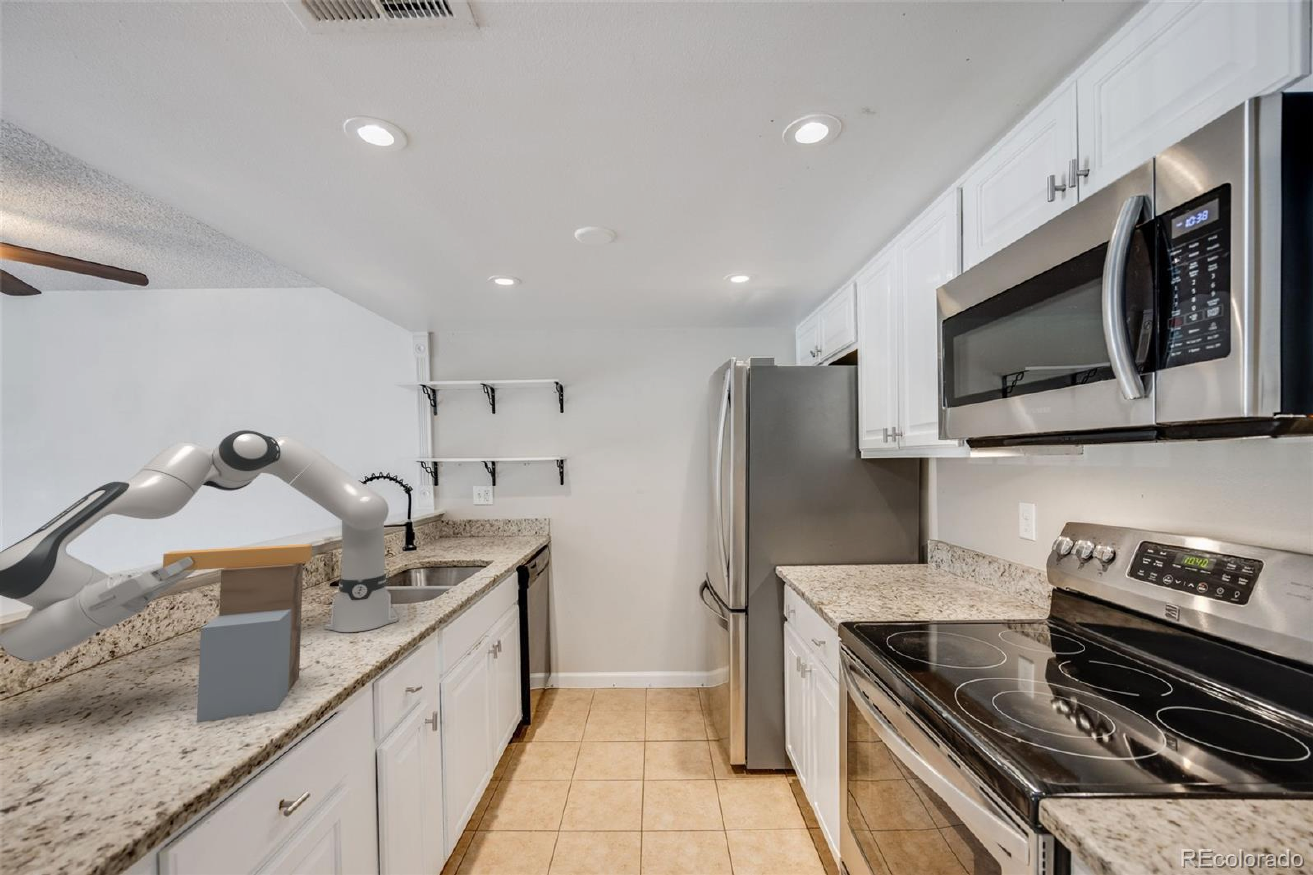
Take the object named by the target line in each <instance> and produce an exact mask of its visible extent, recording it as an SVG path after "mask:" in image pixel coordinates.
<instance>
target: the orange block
mask: <svg viewBox="0 0 1313 875" xmlns="http://www.w3.org/2000/svg"><path fill="white" fill-rule="evenodd" d="M312 546H313V544H312V543H306V544H286V545H267V546H250V547H249V546H248V547H232V548H231V547H230V548H211V549H192V550H191V549H190V550H189V549H188V550H173V551H169V552H165V553H163V554H162V556H163V558H162V559H163V560H162V565H163V567H166V566H168V565H171V564H173V563H176V562H178V561H180V560H182V559H184V558H186V557H189V556H191V557H193V559H194V560H195V564H193V565H191V566H189V567H187V568H185V569H183V570H182V571H187V570H196V571H199V570H203V571H204V570H216V569H217V570H218V569H225V568H234V567H250V566H265V565H281V564H296V563H303V564H308V563H309V562H310V561H312V552H313V551H312V550H313V549H312V548H313V547H312Z"/></svg>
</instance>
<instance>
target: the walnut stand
mask: <svg viewBox="0 0 1313 875" xmlns="http://www.w3.org/2000/svg"><path fill="white" fill-rule="evenodd" d="M303 572H304V563H296V564H281V565H265V566H250V567H234V568H222V569H221V571H220V588H219V589H220V590H219V591H220V592H219V613H218V616H224V615H235V614H246V613H257V612H267V611H278V610H289V609H291V633H290V662H289V691H288V693H290V691H291V690H292V688H293V687H294V685H295V684H296V683H297V681H298V680H299V679H300V667H301V666H300V663H301V639H302V638H301V636H302V635H301V634H302V633H301V632H302V604H303V601H302V600H303V575H304V574H303Z"/></svg>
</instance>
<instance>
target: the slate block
mask: <svg viewBox="0 0 1313 875" xmlns="http://www.w3.org/2000/svg"><path fill="white" fill-rule="evenodd" d="M290 633H291V609H289V610H278V611H267V612H257V613H246V614H235V615H224V616H219V615H218V616H216V618H213V619H212V620H211V621H209V622H208V623H207V624H205V625H203V626H202V627H200V639H199V660H198V662H199V663H198V684H197V685H198V686H197V687H198V688H197V703H196V704H197V707H196V710H197V711H196V723H202V722H208V721H215V720H221V719H227V718H233V717H240V716H246V715H252V714H260V713H261V714H262V713H266V712H273V711H277V709H278V708H279V707H280V706H281V704H282V703H283V701H284V700H285V698H286V697H287V695H288V694H289V692H290V691H289V662H290ZM288 691H289V692H288Z"/></svg>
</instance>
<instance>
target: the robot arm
mask: <svg viewBox="0 0 1313 875" xmlns="http://www.w3.org/2000/svg"><path fill="white" fill-rule="evenodd" d="M261 474H268V475H269V474H270V475H271V476H272V475H273V476H275V477H277V478H279V479H280V480H282V481H283V482H284V483H286V484H287V485H289V486H290V487H291V488H293V489H294V490H296V491H298V492H299V493H301V494H302V495H304V496H306V497H307V498H309V499H310V500H312V501H313V502H315V503H316V504H317V505H319V506H320V507H321V508H323V509H325V510H326V511H328V512H329V513H330V514H332V515H333V516H334V517H336V518H338V519H339V520H341V572H340V574H341V577H340V578H339V582H338V592H339V593H338V594H337V595H336V596H335V597H333V599H332V604H331V605H332V606H331V617H330V621H328V622H327V623H325V624H324V626H323V629H324V630H329V631H330V630H331V631H335V632H339V633H354V632H363V631H364V632H365V631H368V630H375V629H377V628H378V629H379V628H381V627H384V626H386V625H388V624H392V623H396V622H398V621H399V618H398V615H397V613H396V610H395V609H394V607H393V604H392V603H391V600H392V599H391V596H392V595H391V593H390V592H389V591H388V590H387V588H386V586H387V574H386V573H385V570H386V569H385V567H386V562H385V561H386V543H385V522H386V521H387V518H388V517H389V512H390V511H389V504H388V502H387V501H386V499H385V498H384V497H382V496H381V495H380V494H378V493H377V492H375V491H374V490H373V489H372V488H370V487H368V486H367V485H366V484H364V483H363V482H361V481H360V480H358V479H357V478H355V477H354V476H352V475H351V474H349V473H348V472H346V471H345V470H344V469H342V468H340V466H338V465H336V464H335V463H333V461H331V460H329V459H328V458H326V457H325V456H323V455H322V454H321V453H319V451H316V450H315V449H313V448H312V447H310V446H308V445H307V444H305V443H302V442H301V441H299V440H296V439H295V438H293V437H290V436H284V435H281V436H278V437H275V438H274V437H272V436H268V435H265V434H263V433H260V432H257V431H254V430H247V429H246V430H238V431H235V432H232V433H231V434H229V435H227V436H225V438H223V439H222V441H220V443H219V444H218V445H217V446H216V447H215V448H206V447H203V446H201V445H198V444H196V443H191V442H177V443H173V444H172V445H171V446H168V447H167V448H166V449H164V450H163V451H161V452H160V453H158V454H157V455H156V456H155V457H154V458H152V459H151V460H150V461H148V463H146V464H145V465H144V466H143V467H142V468H141V469H140V470H139V472H137V473H136V474H135V475H134V476H132V477H131V478H129V479H127V480H125V481H111V482H107V483H105V484H103V485H101V486H99V487H97V488H96V489H94V490H92V491H91V492H89V493H87V494H86V495H84V496H83V497H81V498H80V499H79V500H77V501H76V502H75V503H73V504H72V505H70V506H69V507H67V508H66V509H64V510H63V511H62V512H60V513H59V514H58V515H56V516H54V517H53V518H52V519H51V520H49V521H48V522H46V523H45V524H44V525H42V526H40V527H39V528H38V529H37V530H35V531H33V532H32V533H31V534H28V536H26V537H24V538H23V539H21V540H19V541H17V542H15V543H14V544H12V545H10V546H8V547H7V548H5V549H4V550H2V551H0V596H1V597H4V598H7V599H11V600H14V601H18V602H20V603H23V604H25V605H28V606H30V607H32V608H31V610H30V611H29V613H28V614H27V616H26V617H25V618H24V619H23V620H20V621H19V622H17V623H16V624H14V625H12V626H11V627H9V628H8V629H7V630H5V631H4V632H3V633H1V634H0V646H1V649H3V651H5V652H6V653H7V654H8V655H9V656H11V657H13V658H15V659H17V660H21V661H24V662H26V663H27V662H30V663H35V662H41V661H44V660H47V659H49V658H52V657H55V656H57V655H60V654H61V653H63V652H66V651H68V650H70V649H72V648H74V647H77V646H79V645H81V644H82V643H84V642H86V641H88V640H89V639H91V638H92V637H93V636H94V635H96V634H97V633H99V632H101V631H104V630H106V629H111V628H112V627H115V626H117V625H119V624H120V623H123V622H124V621H127V620H128V619H130V618H132V617H134V616H136V615H138V614H139V613H142V612H143V611H144V610H145V609H146V608H147V606H148V605H149V604H150V603H152V602H153V601H155V600H156V599H157V598H159V597H160V594H161V593H163V592H164V591H166V590H168V589H169V588H171V587H173V586H175V585H176V584H178V583H179V582H181V581H182V580H184V579H185V578H187V577H188V576H189V577H190V575H192V574H193V573H195V572H196V571H197V570H187V571H182V570H183V569H185V568H187V567H189V566H191V565H193V564H195V560H194V559H193V557H191V556H189V557H186V558H184V559H182V560H180V561H178V562H176V563H173V564H171V565H168V566H166V567H163V564H161V565H160V566H156V567H154V568H151V569H148V570H146V571H139V572H137V571H136V572H133V573H124V574H122V573H115V574H112V575H110V576H109V575H108V574H106V573H105V572H104V571H102V570H101V569H98V568H96V567H94V566H92V565H90V564H89V563H86V562H83V561H81V560H80V559H79V558H76V557H74V556H72V555H70V554H69V553H67V547H68V545H69V544H71V543H72V542H74V540H75V539H77V538H78V537H79V536H81V535H82V534H84V532H86V531H87V530H89V529H90V528H91V527H92V526H94V525H95V524H96V523H97V522H99V521H100V520H102V519H103V518H105V517H107V516H109V515H118V516H124V517H128V518H134V519H142V520H159V519H164V518H167V517H171V516H173V515H175V514H177V513H178V512H180V511H181V510H182V509H183V508H184V507H185V506H186V505H187V504H188V503H189V502H190V500H191V499H192V498H193V497H194V496H195V494H196V493H197V492H198V491H199V489H200V488H201V487H203V486H206V487H211V488H215V489H217V490H220V491H226V492H227V491H228V492H229V491H230V492H231V491H238V490H241V489H243V488H245V487H247V486H249V485H250V484H251V483H252V482H253V481H254V480H256V479H257V477H259V476H260V475H261Z"/></svg>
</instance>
